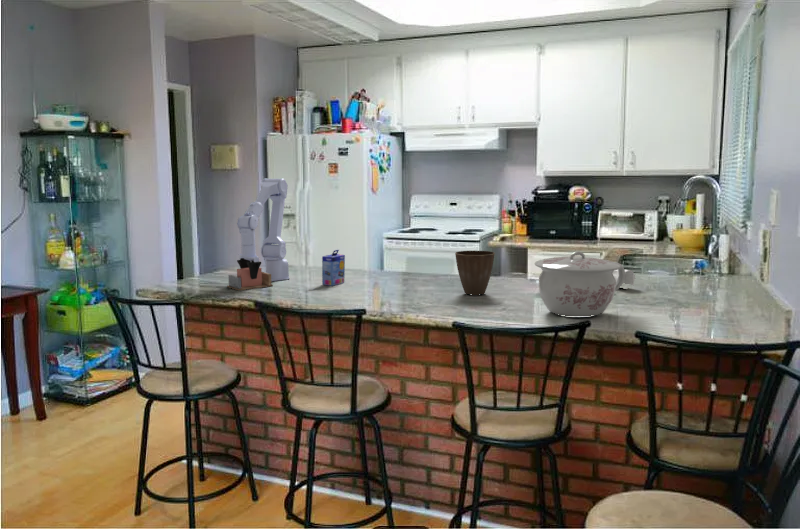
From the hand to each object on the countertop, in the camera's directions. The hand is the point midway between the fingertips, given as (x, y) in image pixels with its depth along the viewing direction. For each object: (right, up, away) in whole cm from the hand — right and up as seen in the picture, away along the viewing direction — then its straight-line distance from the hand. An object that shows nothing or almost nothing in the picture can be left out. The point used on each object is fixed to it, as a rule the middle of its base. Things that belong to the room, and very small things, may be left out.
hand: (249, 277), depth 265 cm
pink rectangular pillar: (0, -3, 0) cm, 3 cm away
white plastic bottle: (+147, -4, -5) cm, 147 cm away
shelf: (0, -4, +1) cm, 4 cm away
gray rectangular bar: (-5, -4, -4) cm, 8 cm away
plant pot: (+90, -6, -18) cm, 92 cm away
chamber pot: (+120, -11, -52) cm, 132 cm away
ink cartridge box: (+34, -3, +6) cm, 35 cm away
